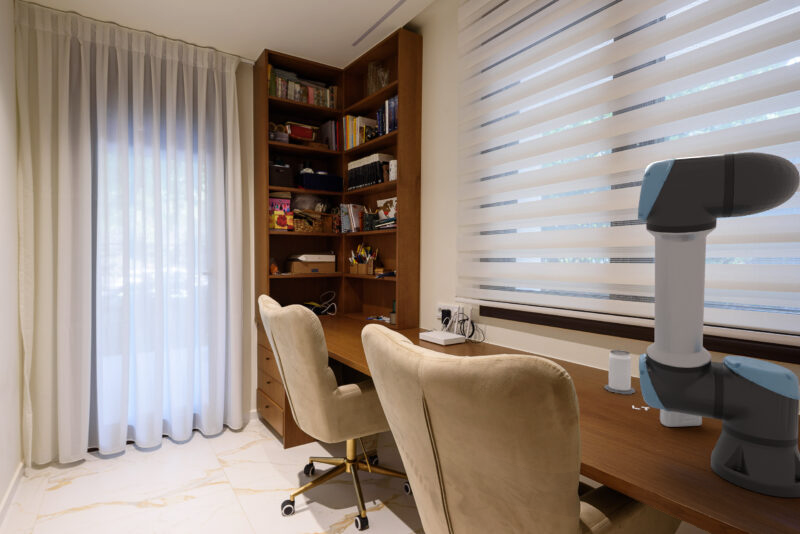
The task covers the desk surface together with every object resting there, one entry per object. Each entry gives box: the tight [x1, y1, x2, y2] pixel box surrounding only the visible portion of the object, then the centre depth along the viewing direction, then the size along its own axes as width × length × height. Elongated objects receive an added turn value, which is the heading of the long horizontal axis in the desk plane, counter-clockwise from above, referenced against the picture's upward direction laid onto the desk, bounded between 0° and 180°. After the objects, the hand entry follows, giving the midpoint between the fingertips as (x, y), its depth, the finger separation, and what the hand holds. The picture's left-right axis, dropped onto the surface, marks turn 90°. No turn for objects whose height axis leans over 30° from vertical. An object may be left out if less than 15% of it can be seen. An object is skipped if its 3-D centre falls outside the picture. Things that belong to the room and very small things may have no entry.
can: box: [608, 349, 632, 391], centre depth 140 cm, size 6×6×12 cm
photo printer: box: [659, 409, 703, 428], centre depth 112 cm, size 10×4×12 cm, turn 98°
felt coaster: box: [603, 383, 636, 395], centre depth 140 cm, size 9×9×1 cm
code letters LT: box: [631, 405, 651, 411], centre depth 124 cm, size 2×4×1 cm, turn 68°
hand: (682, 298), depth 124 cm, fingers open, 13 cm apart
